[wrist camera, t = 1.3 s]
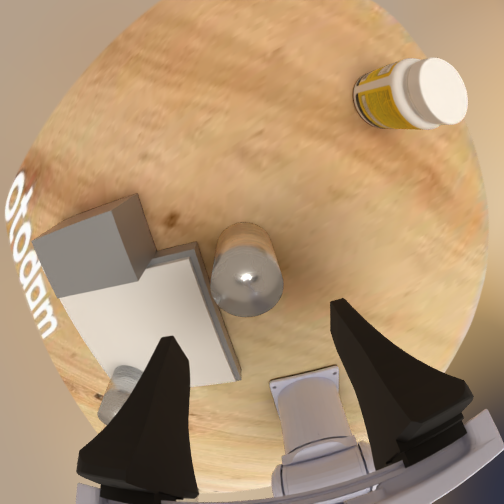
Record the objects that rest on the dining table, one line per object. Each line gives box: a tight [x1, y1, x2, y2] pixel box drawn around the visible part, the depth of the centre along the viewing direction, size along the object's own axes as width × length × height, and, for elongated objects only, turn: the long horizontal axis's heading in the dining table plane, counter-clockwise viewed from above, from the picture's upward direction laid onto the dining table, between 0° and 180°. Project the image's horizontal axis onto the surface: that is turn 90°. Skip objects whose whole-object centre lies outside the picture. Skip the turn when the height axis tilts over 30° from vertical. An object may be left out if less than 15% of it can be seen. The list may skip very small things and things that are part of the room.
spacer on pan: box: [98, 365, 143, 425], centre depth 22 cm, size 4×4×6 cm
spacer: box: [210, 222, 283, 317], centre depth 19 cm, size 4×4×6 cm
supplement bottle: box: [354, 58, 468, 130], centre depth 14 cm, size 5×5×8 cm
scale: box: [32, 193, 241, 387], centre depth 21 cm, size 20×15×5 cm
